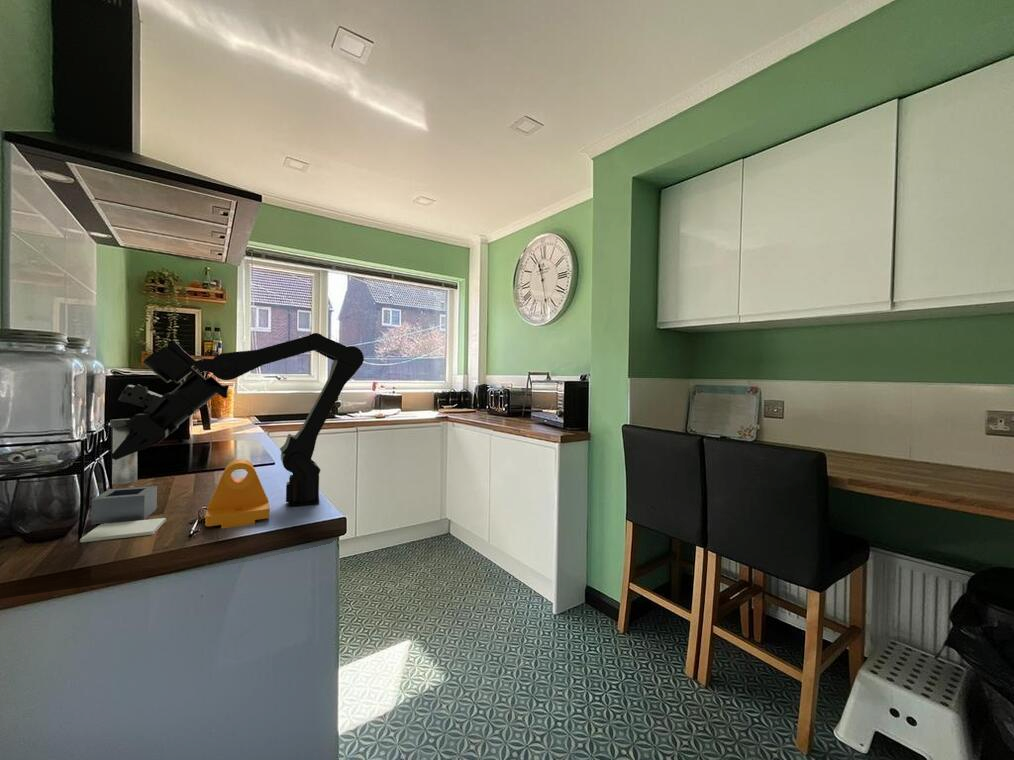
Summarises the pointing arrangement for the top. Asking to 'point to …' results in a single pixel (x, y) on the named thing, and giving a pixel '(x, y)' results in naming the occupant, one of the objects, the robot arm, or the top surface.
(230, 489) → the bracket
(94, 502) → the grey open box
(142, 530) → the mat
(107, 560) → the top surface
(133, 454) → the key peg
